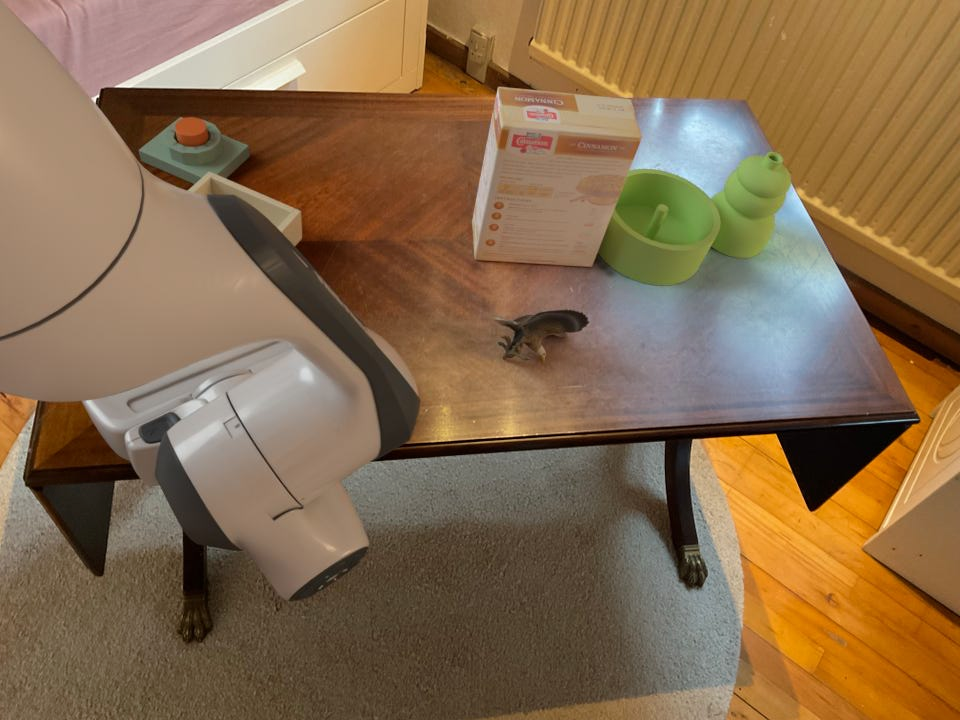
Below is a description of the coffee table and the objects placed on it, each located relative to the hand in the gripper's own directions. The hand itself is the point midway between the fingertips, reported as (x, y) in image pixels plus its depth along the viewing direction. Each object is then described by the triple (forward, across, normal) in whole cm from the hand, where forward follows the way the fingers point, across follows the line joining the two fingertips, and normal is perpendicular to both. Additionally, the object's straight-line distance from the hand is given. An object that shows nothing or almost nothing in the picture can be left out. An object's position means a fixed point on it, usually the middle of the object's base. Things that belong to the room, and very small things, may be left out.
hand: (174, 311), depth 68 cm
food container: (-11, -62, +8) cm, 63 cm away
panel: (+28, -13, +8) cm, 32 cm away
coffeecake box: (-3, -42, +8) cm, 43 cm away
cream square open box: (+12, -10, +8) cm, 18 cm away
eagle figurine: (-16, -33, +8) cm, 37 cm away
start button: (+29, -13, +5) cm, 32 cm away
